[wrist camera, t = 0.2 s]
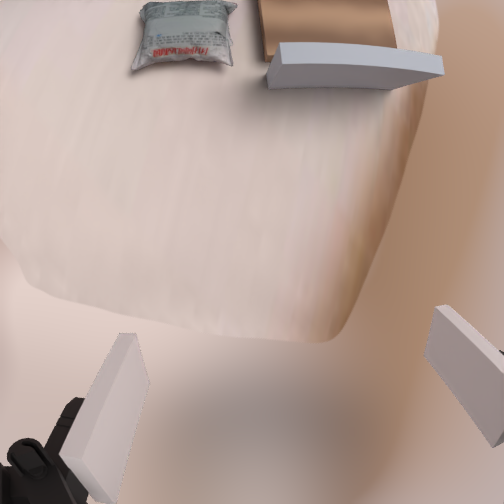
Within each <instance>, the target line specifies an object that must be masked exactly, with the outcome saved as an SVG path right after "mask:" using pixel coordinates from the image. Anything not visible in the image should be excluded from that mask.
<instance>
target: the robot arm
mask: <svg viewBox="0 0 504 504" xmlns="http://www.w3.org/2000/svg"><path fill="white" fill-rule="evenodd" d="M424 357H425V358H426V359H427V360H428V362H429V363H430V364H431V365H432V367H433V368H434V369H435V371H436V372H437V373H438V374H439V376H440V377H441V378H442V379H443V381H444V382H445V384H446V385H447V386H448V387H449V389H450V390H451V391H452V393H453V394H454V395H455V397H456V398H457V399H458V401H459V402H460V403H461V405H462V406H463V407H464V409H465V410H466V411H467V413H468V414H469V416H470V417H471V418H472V420H473V421H474V422H475V424H476V425H477V427H478V428H479V430H480V431H481V432H482V434H483V435H484V437H485V438H486V440H487V441H488V442H489V444H490V445H491V447H492V448H494V447H496V446H498V445H500V444H501V443H503V442H504V352H502V351H501V350H499V351H498V350H497V349H496V348H495V347H494V346H493V345H492V344H491V343H490V342H489V341H488V340H487V339H486V338H484V337H483V336H482V335H481V334H480V333H479V332H478V331H477V330H476V329H475V328H473V327H472V326H471V325H470V324H469V323H468V322H467V321H466V320H464V319H463V318H462V317H461V316H460V315H459V314H458V313H457V312H455V311H454V310H453V309H452V308H451V307H450V306H448V305H443V306H437V307H435V309H434V314H433V319H432V323H431V328H430V332H429V337H428V340H427V345H426V348H425V352H424ZM149 385H150V381H149V378H148V375H147V371H146V368H145V364H144V361H143V358H142V354H141V350H140V346H139V342H138V338H137V334H136V333H119V335H118V337H117V339H116V341H115V342H114V345H113V346H112V348H111V350H110V352H109V353H108V355H107V357H106V359H105V361H104V363H103V365H102V367H101V369H100V370H99V372H98V374H97V376H96V378H95V380H94V382H93V384H92V386H91V388H90V390H89V392H88V394H87V396H86V398H78V397H75V398H74V399H73V400H71V401H70V402H69V403H68V404H67V405H66V406H65V408H64V410H63V412H62V414H61V417H60V418H59V419H58V421H57V423H56V426H55V427H54V429H53V431H52V433H51V435H50V437H49V439H48V441H47V443H46V445H45V447H44V448H43V447H42V445H41V444H40V442H38V441H37V440H35V439H31V438H25V439H21V440H18V441H17V442H15V443H14V444H13V445H12V446H11V447H10V448H9V451H8V453H7V460H8V462H9V463H10V464H11V465H12V466H10V467H9V466H3V465H2V464H1V463H0V504H87V502H86V500H87V497H88V494H90V496H91V497H92V498H93V499H94V500H95V501H97V502H101V503H106V504H117V499H118V495H119V491H120V487H121V483H122V480H123V476H124V472H125V468H126V464H127V461H128V457H129V453H130V450H131V446H132V443H133V439H134V435H135V432H136V428H137V425H138V421H139V418H140V415H141V411H142V408H143V404H144V401H145V398H146V395H147V391H148V388H149Z"/></svg>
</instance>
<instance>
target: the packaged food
mask: <svg viewBox="0 0 504 504" xmlns="http://www.w3.org/2000/svg"><path fill="white" fill-rule="evenodd" d="M235 8H237V4H235V3H231V2H226V1H221V0H206V1H188V2H184V1H177V2H164V3H162V2H149V3H147V4H146V5H144V6H143V9H142V10H140V12H139V13H140V17H141V19H142V20H143V21H144V22H145V24H146V25H145V29H144V35H143V39H142V42H141V44H140V47H139V50H138V52H137V55H136V57H135V59H134V62H133V65H132V66H131V70H139V69H141V68H143V67H145V66H148V65H150V64H153V63H156V62H168V61H180V60H186V59H189V58H193V59H195V60H197V61H210V62H220V63H224V64H226V65H229V66H233V60H232V56H231V50H230V46H232V45H233V42H232V40H231V39H230V34H229V26H228V14H230V13H231V12H233V11H234V10H235ZM232 10H233V11H232Z"/></svg>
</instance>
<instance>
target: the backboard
mask: <svg viewBox="0 0 504 504" xmlns="http://www.w3.org/2000/svg"><path fill="white" fill-rule="evenodd" d="M266 75H267V85H268V89H282V88H314V87H339V88H370V89H387V90H393V89H397V88H400V87H403V86H407V85H410V84H413V83H417V82H421V81H424V80H428V79H431V78H435V77H439V76H443V75H444V68H443V62H442V57H441V56H438V55H433V54H428V53H422V52H416V51H410V50H403V49H396V48H388V47H380V46H370V45H359V44H344V43H320V42H284V43H279V45H278V47H277V50H276V52H275V54H274V57H273V59H272V61H271V64H270V66H269V68H268V71H267V73H266Z"/></svg>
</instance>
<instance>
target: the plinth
mask: <svg viewBox="0 0 504 504" xmlns="http://www.w3.org/2000/svg"><path fill="white" fill-rule="evenodd" d="M257 1H258V9H259V17H260V25H261V33H262V41H263V49H264V58H265V62H271V61H272V59H273V57H274V54H275V52H276V50H277V47H278V45H279V43H284V42H320V43H344V44H359V45H370V46H380V47H388V48H396V49H397V45H396V39H395V34H394V29H393V24H392V19H391V14H390V10H389V6H388V1H387V0H257Z"/></svg>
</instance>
